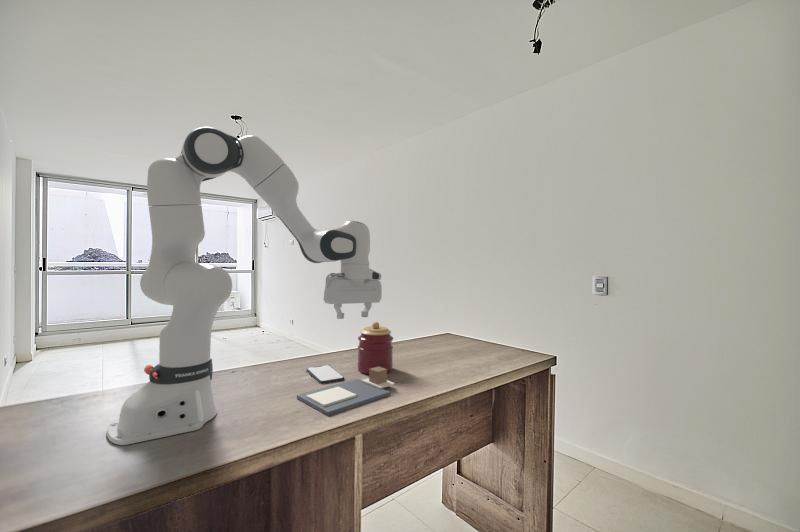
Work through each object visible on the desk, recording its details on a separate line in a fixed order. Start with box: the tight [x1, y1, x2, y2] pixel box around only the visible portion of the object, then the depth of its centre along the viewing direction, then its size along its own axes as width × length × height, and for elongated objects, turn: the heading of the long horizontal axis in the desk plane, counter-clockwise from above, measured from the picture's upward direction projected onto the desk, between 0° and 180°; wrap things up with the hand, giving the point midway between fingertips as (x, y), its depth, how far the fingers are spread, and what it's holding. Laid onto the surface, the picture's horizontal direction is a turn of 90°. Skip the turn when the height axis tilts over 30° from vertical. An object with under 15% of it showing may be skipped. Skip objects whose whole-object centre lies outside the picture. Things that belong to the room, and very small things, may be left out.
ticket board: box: [296, 378, 391, 417], centre depth 109 cm, size 22×16×2 cm
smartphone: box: [306, 364, 345, 385], centre depth 128 cm, size 9×2×16 cm
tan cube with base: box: [361, 367, 395, 389], centre depth 118 cm, size 6×9×4 cm, turn 45°
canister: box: [357, 321, 394, 375], centre depth 136 cm, size 13×13×18 cm
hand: (352, 317), depth 116 cm, fingers open, 8 cm apart
